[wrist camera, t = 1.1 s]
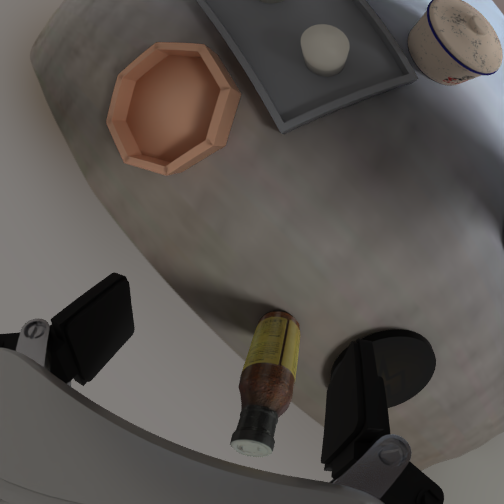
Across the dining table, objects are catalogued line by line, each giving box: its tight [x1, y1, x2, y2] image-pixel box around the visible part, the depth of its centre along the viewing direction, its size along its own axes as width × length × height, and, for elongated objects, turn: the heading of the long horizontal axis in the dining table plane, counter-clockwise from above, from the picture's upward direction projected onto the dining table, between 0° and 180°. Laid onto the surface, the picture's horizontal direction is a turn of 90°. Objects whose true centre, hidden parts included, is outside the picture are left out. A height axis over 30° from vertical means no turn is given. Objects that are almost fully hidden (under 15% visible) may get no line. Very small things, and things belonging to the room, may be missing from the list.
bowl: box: [106, 42, 241, 176], centre depth 28 cm, size 16×16×4 cm
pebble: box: [301, 24, 350, 77], centre depth 21 cm, size 5×5×5 cm
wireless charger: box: [331, 330, 436, 408], centre depth 36 cm, size 18×18×2 cm
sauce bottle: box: [230, 311, 300, 457], centre depth 29 cm, size 7×6×20 cm
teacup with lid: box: [408, 0, 502, 86], centre depth 13 cm, size 12×9×12 cm
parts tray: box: [196, 0, 418, 134], centre depth 21 cm, size 17×24×2 cm
